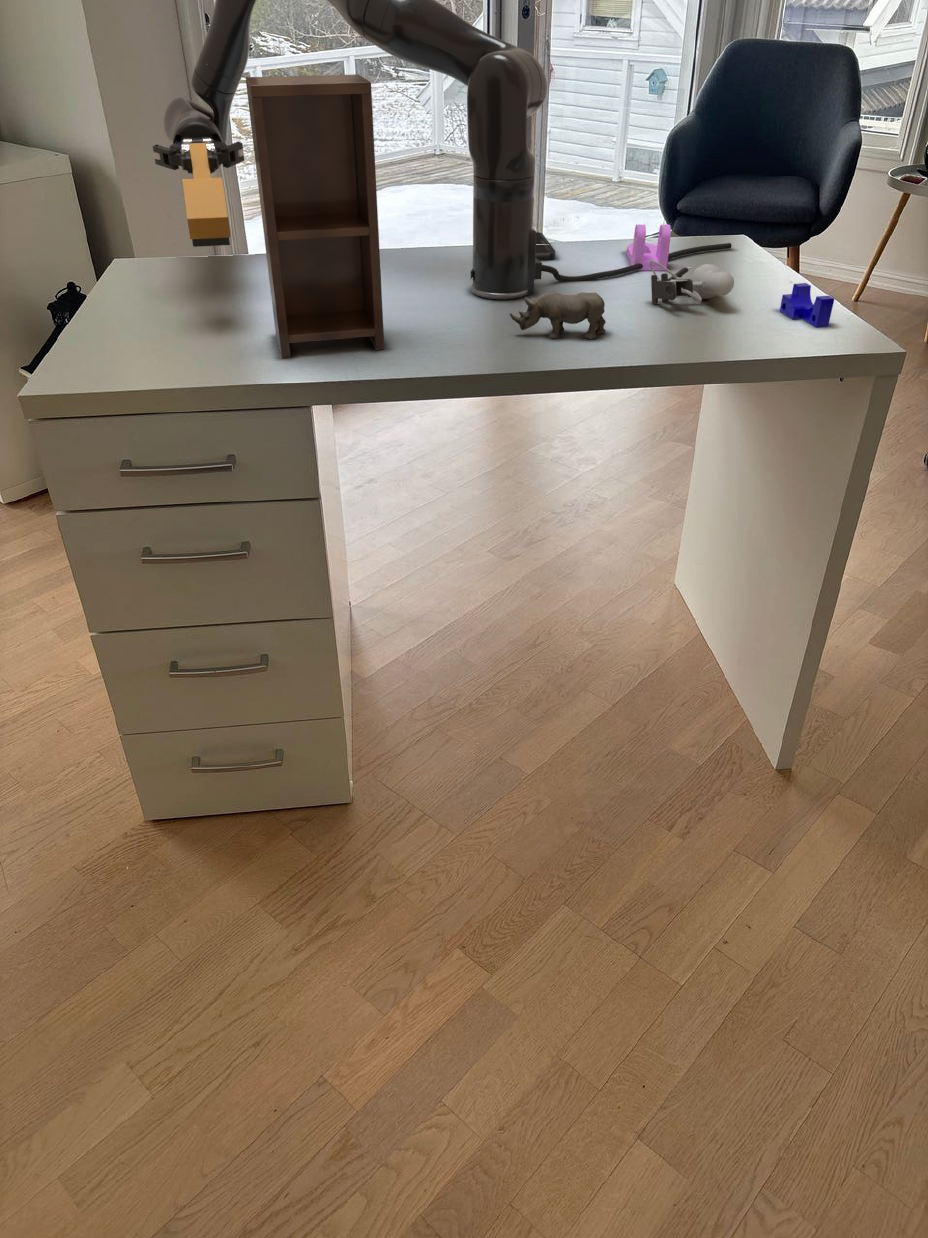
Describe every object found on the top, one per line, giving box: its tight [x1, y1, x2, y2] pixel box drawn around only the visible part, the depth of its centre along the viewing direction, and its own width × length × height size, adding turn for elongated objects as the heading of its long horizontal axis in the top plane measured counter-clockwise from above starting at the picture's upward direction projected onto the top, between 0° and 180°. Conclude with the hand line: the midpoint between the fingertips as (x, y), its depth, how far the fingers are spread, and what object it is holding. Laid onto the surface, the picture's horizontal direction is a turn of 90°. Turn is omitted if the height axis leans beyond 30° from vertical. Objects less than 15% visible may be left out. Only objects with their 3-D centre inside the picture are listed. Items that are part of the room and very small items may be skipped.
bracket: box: [626, 224, 672, 271], centre depth 163 cm, size 13×6×7 cm, turn 179°
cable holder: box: [779, 282, 835, 328], centre depth 138 cm, size 8×4×4 cm, turn 13°
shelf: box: [245, 74, 385, 359], centre depth 121 cm, size 14×9×32 cm, turn 104°
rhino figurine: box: [509, 291, 607, 340], centre depth 131 cm, size 4×14×6 cm, turn 89°
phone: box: [535, 231, 556, 261], centre depth 171 cm, size 8×1×15 cm
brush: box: [181, 143, 231, 248], centre depth 130 cm, size 5×18×5 cm, turn 14°
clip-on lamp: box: [650, 260, 735, 305], centre depth 146 cm, size 12×6×18 cm
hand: (200, 164), depth 131 cm, fingers closed on brush, 2 cm apart
